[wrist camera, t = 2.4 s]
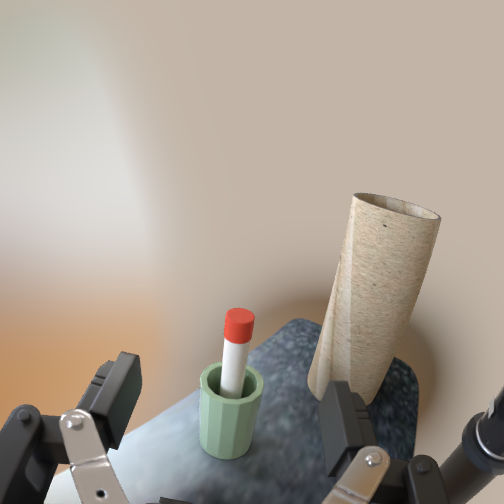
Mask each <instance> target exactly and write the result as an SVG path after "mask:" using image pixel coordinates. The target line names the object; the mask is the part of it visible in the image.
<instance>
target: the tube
mask: <svg viewBox="0 0 504 504" xmlns="http://www.w3.org/2000/svg"><path fill="white" fill-rule="evenodd" d="M440 222H441V217H440V216H439V215H437V214H436V213H434V212H432V211H430V210H427V209H425V208H423V207H420V206H418V205H415V204H412V203H408V202H405V201H402V200H398V199H394V198H390V197H386V196H381V195H375V194H368V193H355V194H354V195H353V199H352V204H351V209H350V215H349V220H348V225H347V229H346V234H345V238H344V243H343V247H342V252H341V256H340V260H339V265H338V269H337V274H336V277H335V282H334V286H333V289H332V293H331V298H330V301H329V305H328V309H327V313H326V316H325V320H324V324H323V327H322V331H321V334H320V338H319V341H318V345H317V348H316V351H315V355H314V358H313V361H312V365H311V368H310V371H309V374H308V381H307V383H308V386H309V389H310V391H311V392H312V394H313V395H314V396H315V397H316V398H317V399H318V400H319V401H320V402H321V399H322V397H323V394H324V392H325V389H326V387H327V384H328V382H329V380H345V381H348V384H349V387H350V390H351V392H357V393H358V394H359V395H360V396H361V397H362V399H363V400H364V401H365V404H366V406H367V405H369V404H370V403H371V402H372V400H373V399H374V397H375V396H376V394H377V392H378V390H379V387H380V385H381V383H382V381H383V379H384V377H385V375H386V373H387V371H388V369H389V366H390V364H391V362H392V360H393V358H394V355H395V353H396V351H397V348H398V346H399V344H400V341H401V339H402V336H403V334H404V331H405V329H406V327H407V324H408V322H409V319H410V316H411V314H412V311H413V308H414V306H415V303H416V300H417V297H418V295H419V292H420V289H421V286H422V283H423V280H424V277H425V274H426V271H427V268H428V264H429V261H430V258H431V255H432V251H433V247H434V244H435V241H436V237H437V233H438V230H439V226H440Z"/></svg>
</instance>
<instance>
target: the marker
mask: <svg viewBox="0 0 504 504" xmlns="http://www.w3.org/2000/svg"><path fill="white" fill-rule="evenodd" d="M254 319H255V317H254V314H253V313H252V312H251V311H249V310H246V309H243V308H234V309H230V310H229V311H227V313H226V318H225V328H224V336H225V342H224V353H223V363H222V374H221V385H220V396H221V397H223V398H226V399H237V400H238V399H241V396H242V389H243V383H244V376H245V370H246V363H247V357H248V350H249V343H250V340H251V338H252V331H253V325H254Z"/></svg>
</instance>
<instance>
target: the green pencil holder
mask: <svg viewBox="0 0 504 504" xmlns="http://www.w3.org/2000/svg"><path fill="white" fill-rule="evenodd" d="M222 363H223V361H222V362H218V363H213V364H212V365H210V366H209V367H207V368H206V369H204V371H203V373H202V375H201V377H200V395H199V441H200V444H201V446H202V448H203V449H204V450H205V451H206V452H207V453H208V454H209V455H211V456H213V457H215V458H219V459H225V460H229V459H235V458H238V457H240V456H242V455H244V454H245V453H246V452H247V451H248V450H249V448H250V445H251V441H252V438H253V433H254V429H255V425H256V420H257V416H258V411H259V407H260V402H261V398H262V393H263V388H264V381H263V379H262V376H261V374H260V373H259V372H258V371H256V370H255V369H254V368H253V367H252V366H249V365H247V364H246V370H245V376H244V383H243V389H242V396H241V399H238V400H237V399H226V398H223V397H221V396H220V385H221V374H222Z"/></svg>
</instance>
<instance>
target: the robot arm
mask: <svg viewBox="0 0 504 504" xmlns="http://www.w3.org/2000/svg"><path fill="white" fill-rule="evenodd" d="M141 388H142V375H141V367H140V358H139V355H136V354H131V353H126V352H121V353H120V354H119V356H118V358H117V360H116V361H115V362H113V361H110V360H109V361H107V362H106V363H105V364H103V365H102V366H101V367H100V368H99V369H98V371H97V373H96V375H95V377H94V378H93V380H92V381H91V384H90V385H89V386H88V388H87V390H86V391H85V393H84V395H83V397H82V398H81V400H80V402H79V404H78V406H77V407H76V408H75V409H71V410H68V411H66V412H65V413H64V414H63V415H62V416H48V415H41V414H40V412H39V410H38V409H37V408H35V407H34V406H32V405H27V404H26V405H25V404H24V405H20V406H18V407H16V408H15V409H14V410H13V411H12V413H11V414H10V416H9V418H8V419H7V421H6V423H5V424H4V426H3V428H2V429H1V431H0V504H43V503H44V500H45V498H46V495H47V492H48V489H49V487H50V484H51V482H52V479H53V476H54V474H55V471H56V469H57V466H58V464H71V467H70V471H71V474H72V477H73V480H74V483H75V486H76V489H77V491H78V494H79V497H80V499H81V502H82V504H130V503H129V501H128V500H127V498H126V496H125V494H124V492H123V490H122V487H121V485H120V483H119V481H118V479H117V477H116V475H115V472H114V470H113V468H112V466H111V463H110V461H109V459H108V457H107V452H108V450H109V448H112V449H115V450H118V448H119V445H120V442H121V440H122V437H123V435H124V432H125V430H126V427H127V425H128V422H129V419H130V417H131V415H132V412H133V409H134V407H135V405H136V402H137V400H138V398H139V395H140V392H141ZM318 415H319V422H320V429H321V435H322V442H323V448H324V455H325V462H326V469H327V476H328V477H336V478H337V483H336V485H335V486H334V487H333V489H332V490H331V491H330V493H329V494H328V495H327V497H326V498H325V499H324V500H323V502H322V503H321V504H370V503H369V502H373V503H379V504H450V503H449V499H448V496H447V492H446V489H445V486H444V482H443V479H442V476H441V473H440V470H439V467H438V464H437V462H436V461H435V460H434V459H433V458H431V457H430V456H427V455H417V456H415V457H413V458H412V459H411V460H410V461H404V460H398V459H393V458H390V457H389V455H388V453H387V452H386V451H385V450H383V449H382V448H380V447H378V444H377V440H376V437H375V434H374V430H373V427H372V424H371V421H370V419H369V418H370V417H369V414H368V412H367V408H366V404H365V401H364V400H363V399H362V397H361V396H360V395H359V394H358V393H357V392H351V390H350V387H349V384H348V381H345V380H329V382H328V384H327V387H326V389H325V392H324V394H323V397H322V399H321V402H320V405H319V412H318ZM473 434H474V440H475V443H476V445H477V447H478V448H479V450H480V451H481V452H482V453H483V454H484V455H485V456H486V457H488V458H489V459H491V460H493V461H496V462H504V385H503V387H502V389H501V390H500V392H499V393H498V395H497V396H496V398H495V399H494V397H493V399H492V400H491V401H490V403H489V408H488V409H487V411H486V412H485V413H484V415H483V416H482V417H481V418H480V419H479V421H478V422H477V423H476V425H475V427H474V433H473ZM147 504H192V503H189V502H184V501H179V500H174V499H169V498H164V497H160V501H159V503H147Z"/></svg>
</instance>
